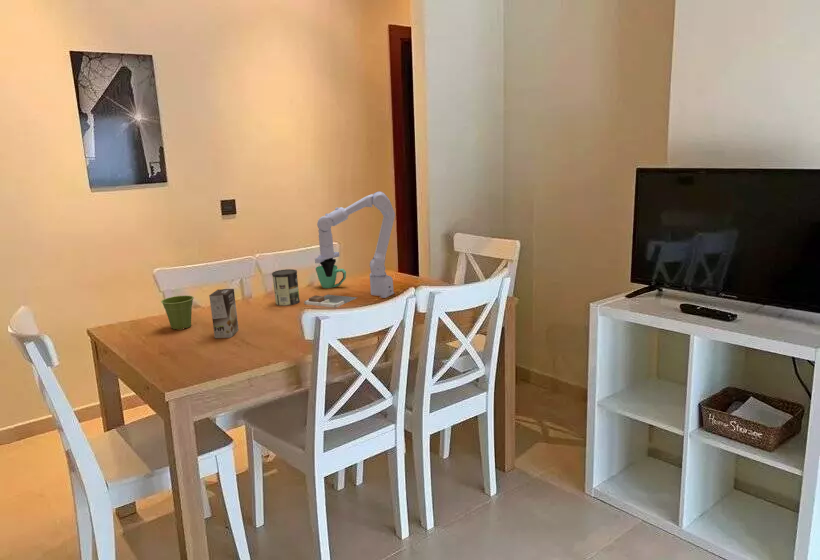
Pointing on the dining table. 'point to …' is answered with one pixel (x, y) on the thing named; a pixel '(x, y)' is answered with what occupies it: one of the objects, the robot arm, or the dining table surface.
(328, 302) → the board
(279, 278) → the coffee can
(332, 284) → the mug
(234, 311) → the coffee box
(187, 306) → the plant pot
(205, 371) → the dining table surface
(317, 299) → the token
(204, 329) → the dining table surface
